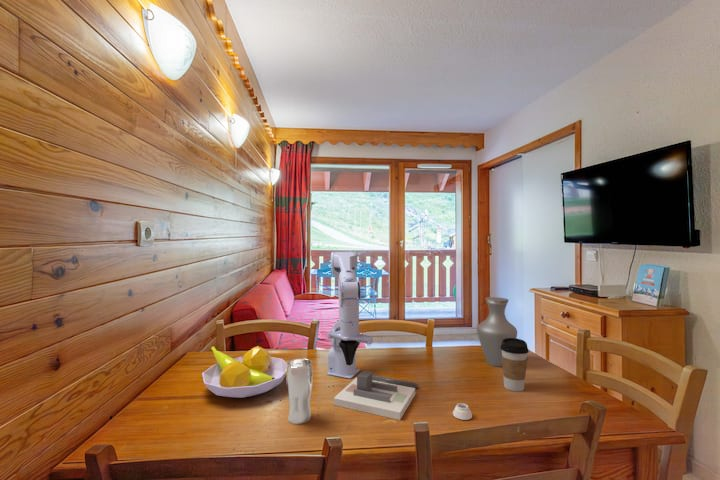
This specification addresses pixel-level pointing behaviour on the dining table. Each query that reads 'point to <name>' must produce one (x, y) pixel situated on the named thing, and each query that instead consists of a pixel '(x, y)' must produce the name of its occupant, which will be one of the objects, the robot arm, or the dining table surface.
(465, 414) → the lidless jar
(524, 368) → the coffee cup
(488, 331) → the vase
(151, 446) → the dining table surface
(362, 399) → the white board with rails
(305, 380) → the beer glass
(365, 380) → the switch knob
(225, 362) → the fruit bowl
